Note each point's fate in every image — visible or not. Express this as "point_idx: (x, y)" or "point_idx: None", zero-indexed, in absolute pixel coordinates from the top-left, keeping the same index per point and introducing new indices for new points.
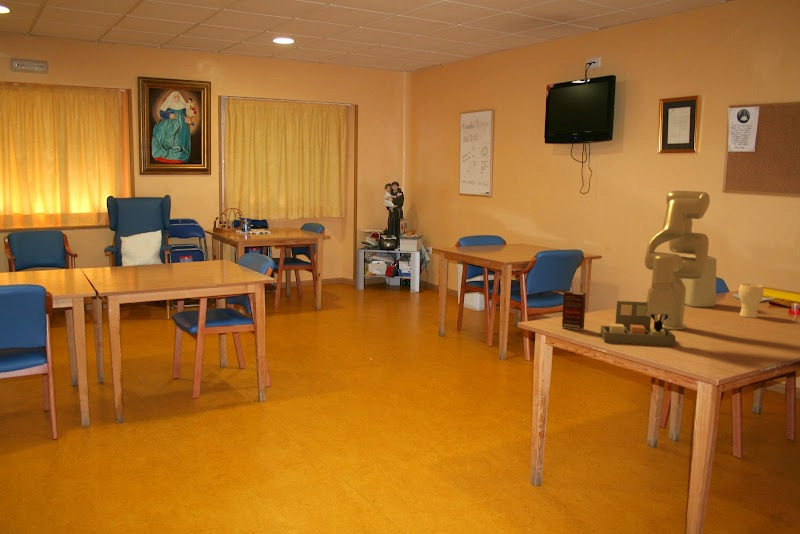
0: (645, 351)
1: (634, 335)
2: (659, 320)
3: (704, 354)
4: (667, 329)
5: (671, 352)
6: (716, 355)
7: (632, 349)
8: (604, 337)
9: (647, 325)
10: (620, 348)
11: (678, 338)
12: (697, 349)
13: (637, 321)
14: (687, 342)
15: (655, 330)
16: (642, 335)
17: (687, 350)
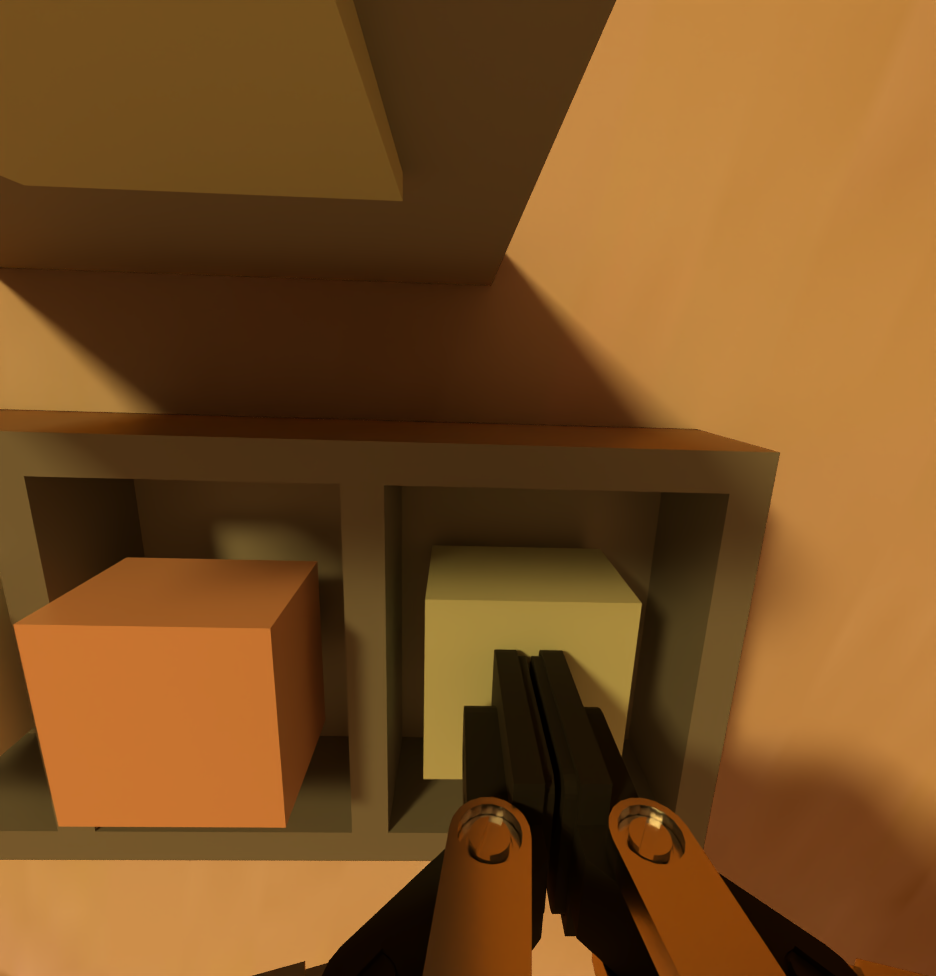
0: (306, 955)
1: (161, 844)
2: (577, 894)
3: (825, 939)
4: (760, 455)
5: (542, 939)
6: (919, 946)
7: (190, 922)
8: None
9: (448, 248)
10: (76, 914)
11: (860, 364)
12: (845, 805)
13: (195, 223)
14: (880, 552)
15: (489, 694)
16: (265, 852)
17: (724, 855)
